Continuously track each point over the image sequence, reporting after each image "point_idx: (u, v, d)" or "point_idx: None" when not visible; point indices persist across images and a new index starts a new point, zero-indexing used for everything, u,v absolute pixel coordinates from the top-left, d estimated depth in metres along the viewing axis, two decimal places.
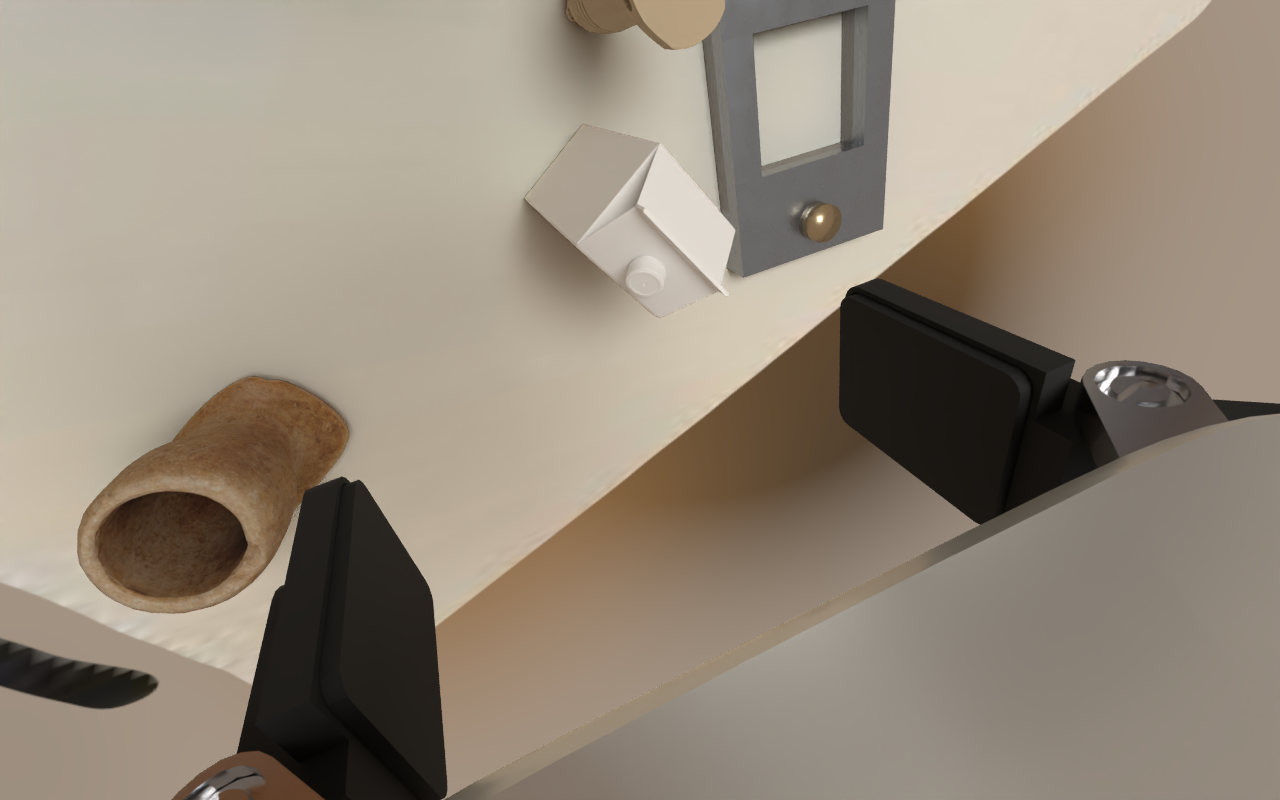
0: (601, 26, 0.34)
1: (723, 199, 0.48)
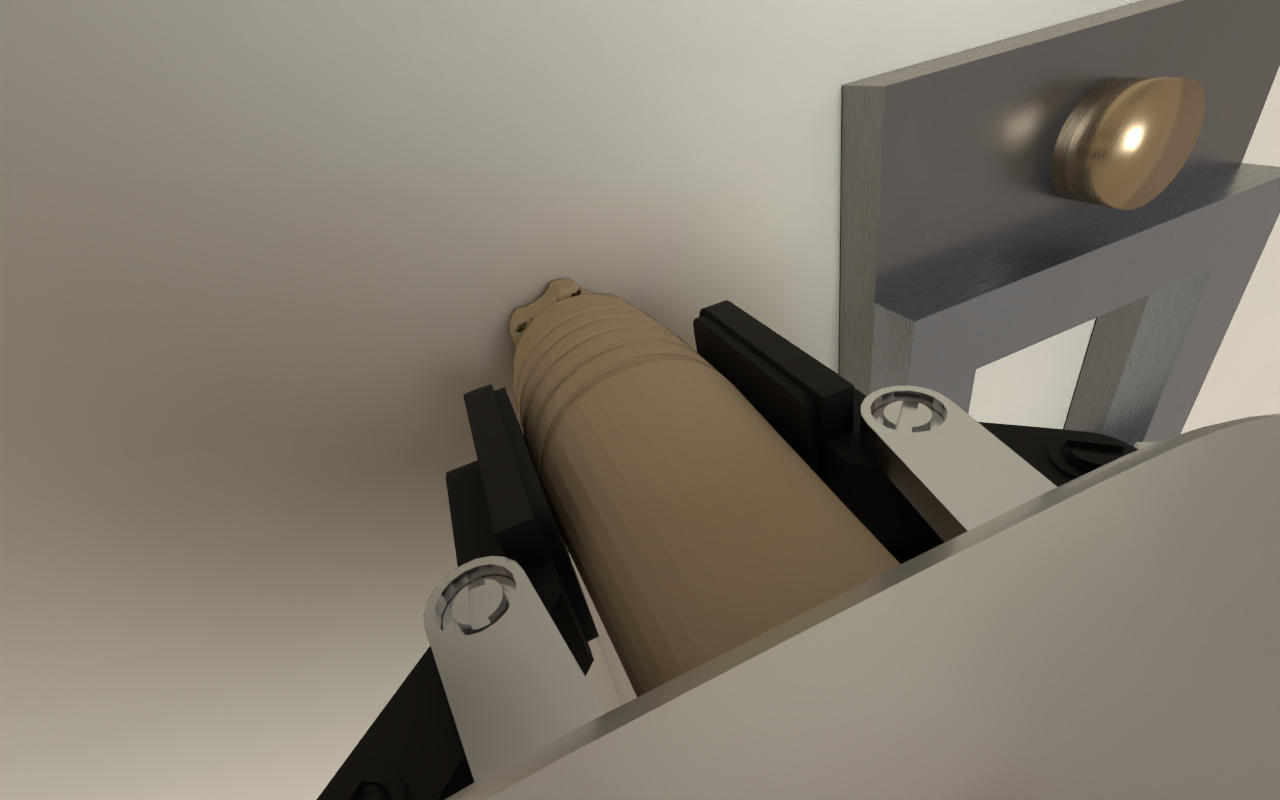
0: None
1: None
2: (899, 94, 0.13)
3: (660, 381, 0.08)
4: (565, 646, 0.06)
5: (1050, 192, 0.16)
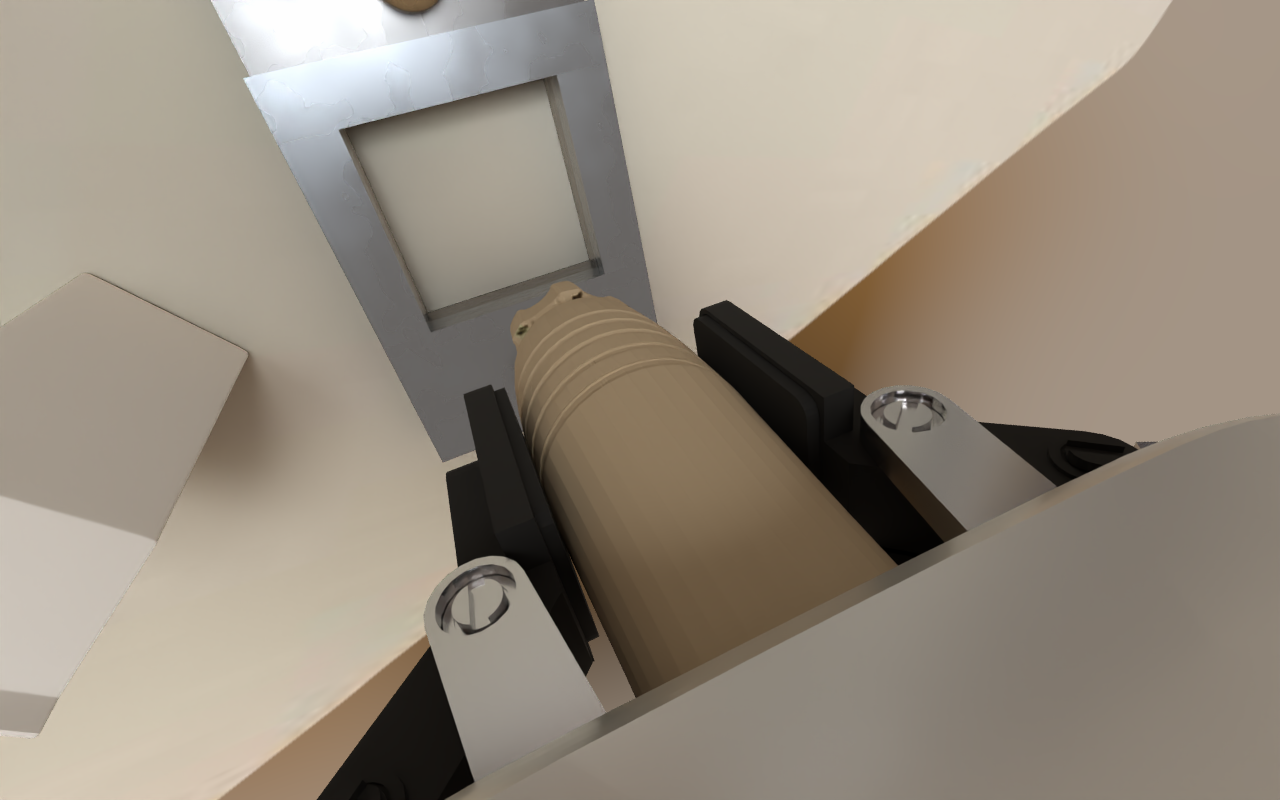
0: None
1: None
2: None
3: (661, 387, 0.08)
4: (565, 646, 0.06)
5: (382, 6, 0.24)
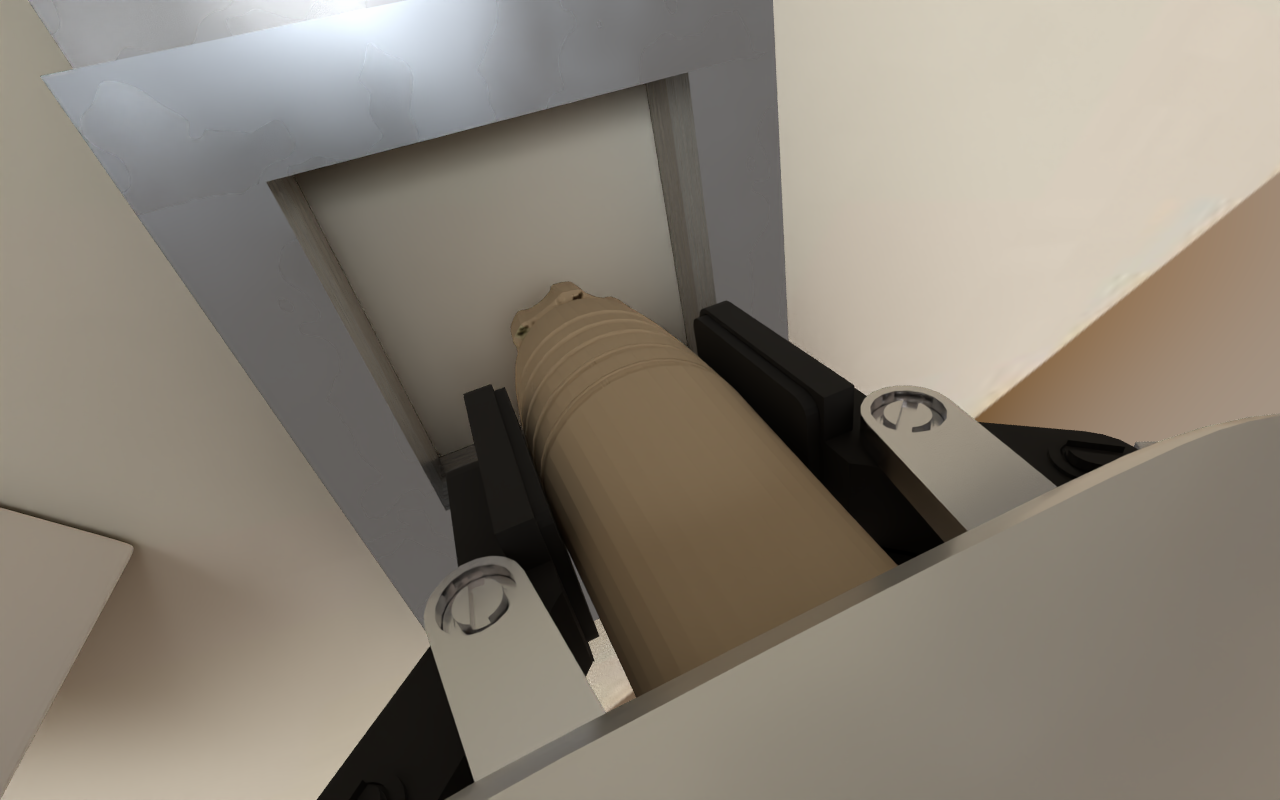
0: None
1: None
2: None
3: (662, 387, 0.08)
4: (565, 646, 0.06)
5: None
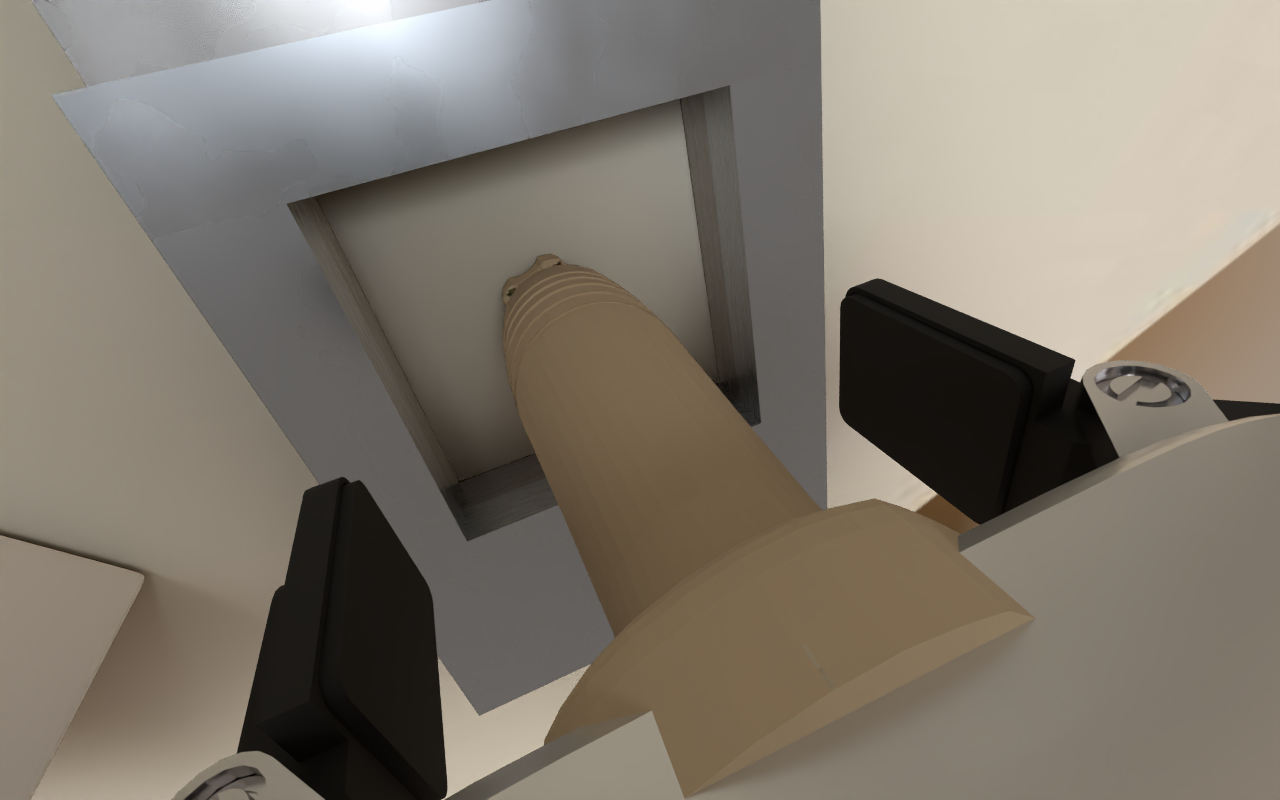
0: None
1: None
2: None
3: (604, 318, 0.11)
4: None
5: None
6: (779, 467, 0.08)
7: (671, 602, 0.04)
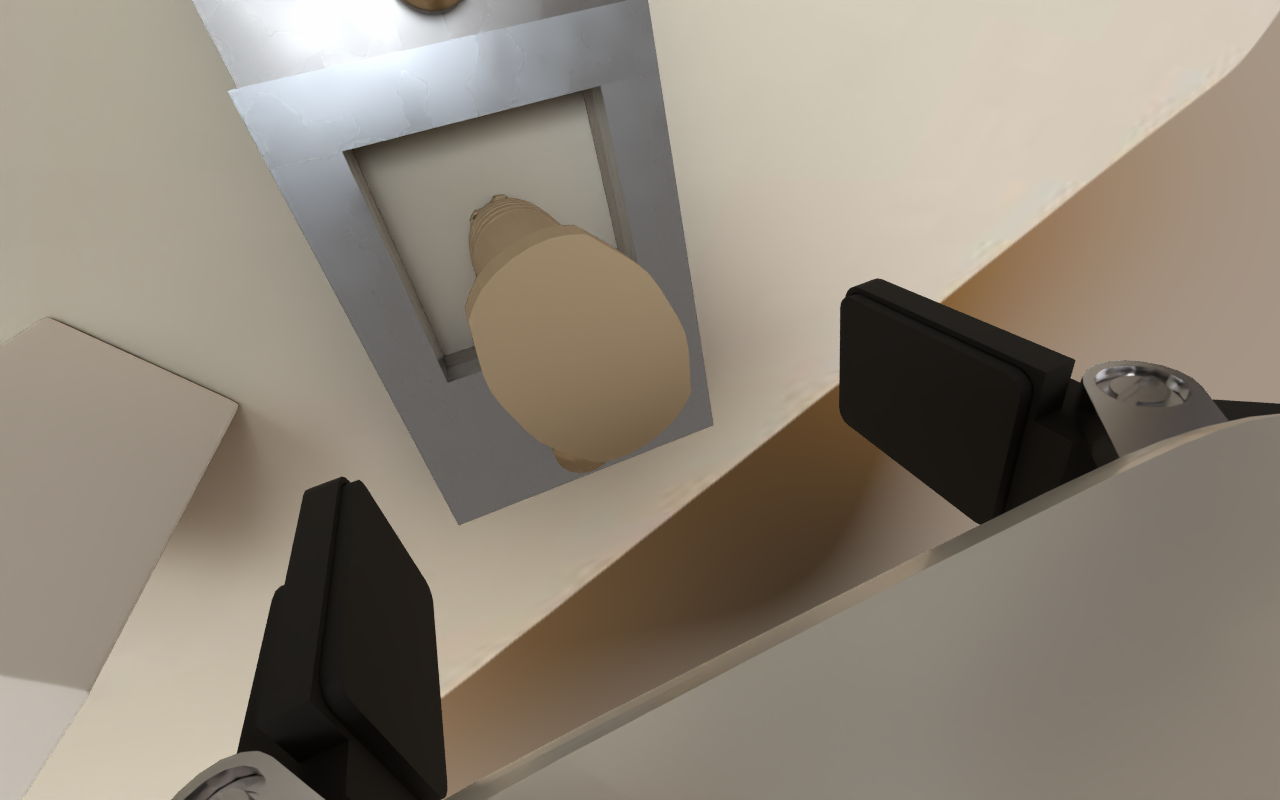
0: None
1: None
2: None
3: (521, 214, 0.20)
4: None
5: (397, 4, 0.20)
6: None
7: (503, 250, 0.13)
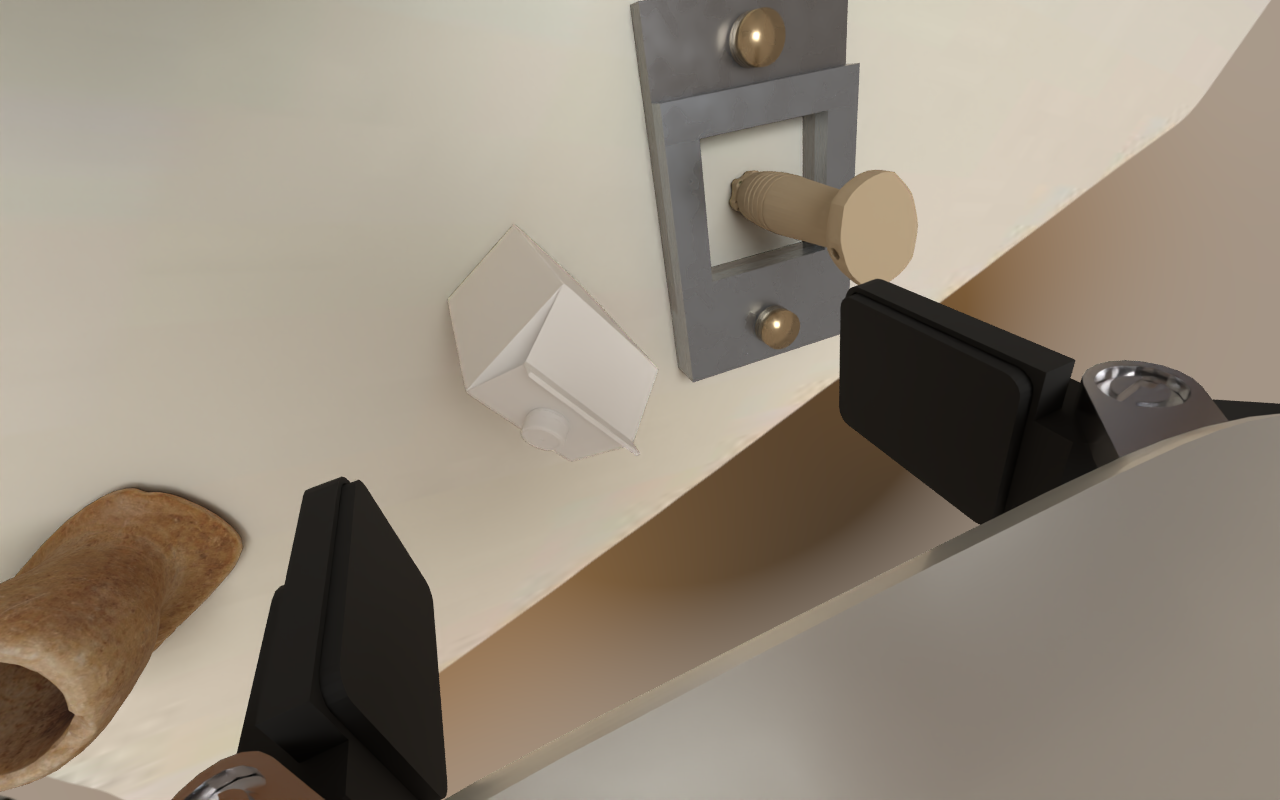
0: (776, 232, 0.38)
1: (672, 300, 0.44)
2: (645, 5, 0.34)
3: (796, 176, 0.37)
4: None
5: (733, 62, 0.37)
6: None
7: (852, 179, 0.30)
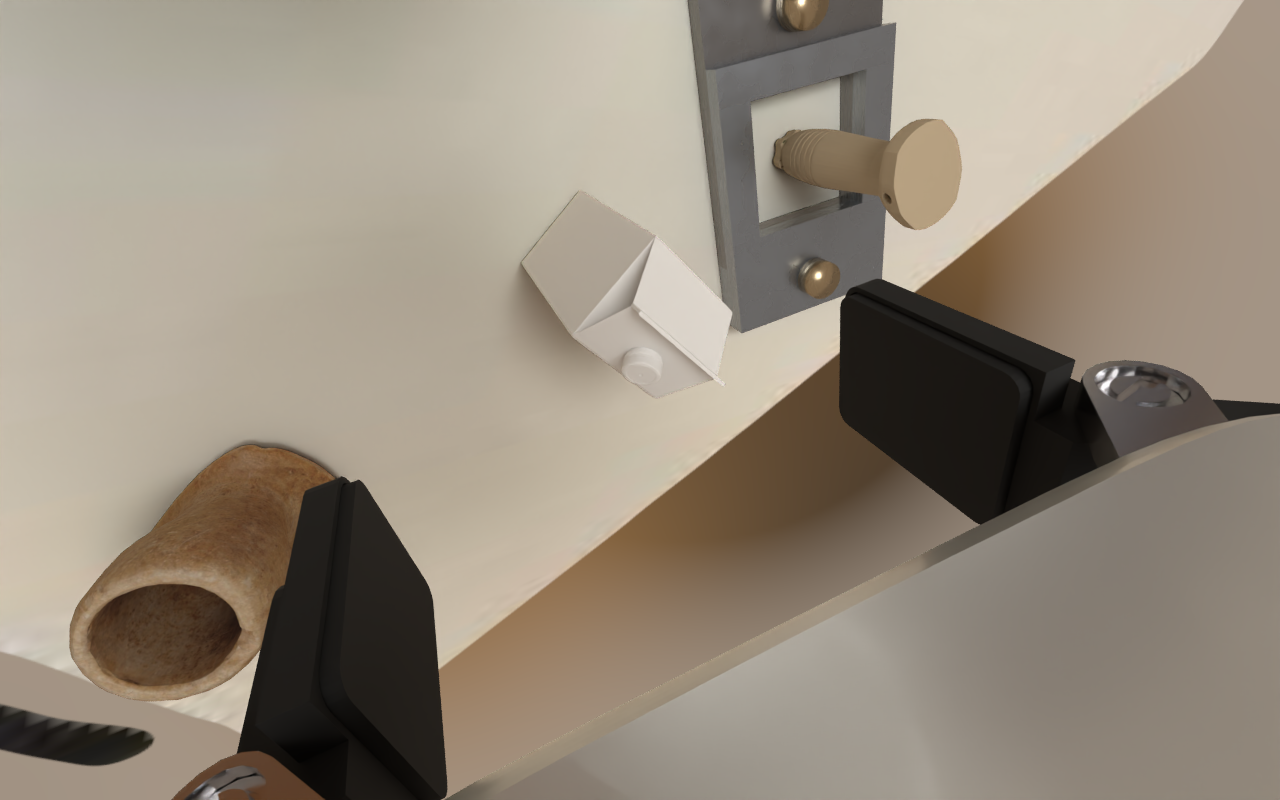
0: (822, 186, 0.42)
1: (721, 256, 0.48)
2: None
3: (842, 131, 0.40)
4: None
5: (779, 27, 0.40)
6: None
7: (903, 128, 0.33)
